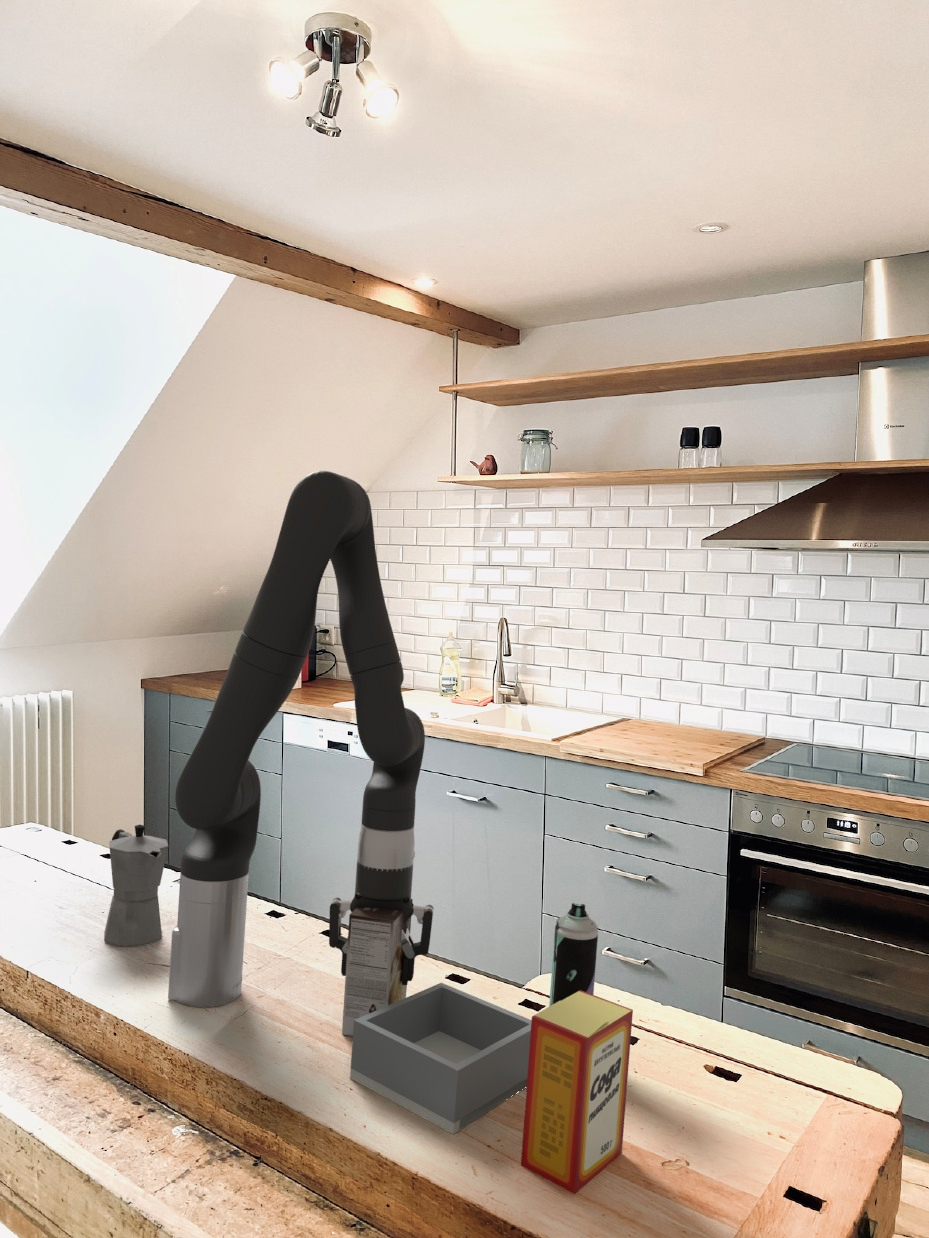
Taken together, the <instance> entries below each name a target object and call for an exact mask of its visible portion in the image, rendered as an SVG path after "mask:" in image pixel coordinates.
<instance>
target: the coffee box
mask: <svg viewBox="0 0 929 1238" xmlns="http://www.w3.org/2000/svg"><path fill="white" fill-rule="evenodd" d="M411 900H412V902H413V899H412V898H411ZM411 924H412V916H411V917H410V919H409V920H408V921H407V922H406V923H405V925H404V924H403V911H401V910H390V909H381V908H364V907H357V908H356V909H355V910H354V911H353V912H350V914H349V918H348V930H347V932H348V933H347V935H348V936H347V937H348V946H347V962H346V976H344V995H343V997H344V998H343V1011H342V1014H343V1015H342V1026H341V1027H342V1028H341V1029H342V1030H341V1034H342V1035H345V1036H350V1037H353V1027H354V1020H355V1019H358V1018H360V1017H362V1016H365V1015H367V1014H369V1013H372V1012H374V1011H376V1010H379V1009H381V1008H383V1007H386V1006H388V1005H390V1004H393V1003H395V1002H397V1001H400V1000H402V999H404V998H407V986H408V984H407V985H402V976H403V961H404V955H405V953H404V951H403V949H402V947H401V946H402V945H401V931H402V930H403V931H404V933H405V931H406V929H407V928H408V930H409V932H410V933H411V929H412V928H411V927H412V926H411Z"/></svg>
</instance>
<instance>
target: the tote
mask: <svg viewBox="0 0 929 1238" xmlns="http://www.w3.org/2000/svg"><path fill="white" fill-rule="evenodd" d="M531 1021H532V1019H530V1018H527V1017H524V1016H523V1015H520V1014H517V1013H515V1012H513V1011H510V1010H508V1009H506V1008H503V1007H500V1006H498V1005H496V1004H493V1003H492V1002H489V1001H487V1000H484V999H482V998H479V997H477V996H475V995H473V994H471V993H470V994H469V993H467V992H465V991H462V990H460V989H457V988H455V987H453V986H450V985H448V984H445V983H443V982H438V983H437V984H435V985H433V986H430V987H428V988H425V989H423V990H421V991H419V992H416V993H414V994H412V995H409V996H406V998H404V999H402V1000H400V1001H397V1002H395V1003H393V1004H390V1005H388V1006H386V1007H383V1008H381V1009H379V1010H376V1011H374V1012H372V1013H369V1014H367V1015H365V1016H362V1017H360V1018H358V1019H355V1020H354V1027H353V1036H352V1042H351V1044H352V1046H351V1056H350V1057H351V1058H350V1073H349V1074H350V1075H349V1079H351V1080H353V1081H355V1082H356V1083H358V1084H360V1085H362V1086H364V1087H365V1088H367V1089H369V1090H371V1091H373V1092H375V1093H376V1094H378V1095H380V1096H382V1097H384V1098H386V1099H388V1100H389V1101H391V1102H392V1103H395V1104H397V1105H399V1106H401V1107H402V1108H405V1109H406V1110H408V1111H409V1112H412V1113H414V1114H415V1115H417V1116H419V1117H420V1118H422V1119H425V1120H426V1121H429V1122H430V1123H431V1124H434V1125H436V1126H437V1127H439V1128H441V1129H442V1130H445V1131H447V1132H448V1133H449V1134H452V1135H455V1134H456V1133H457V1132H459V1131H460V1130H462V1129H464V1128H465V1127H467V1126H468V1125H470V1124H472V1123H473V1122H475V1121H477V1120H479V1118H481V1117H483V1116H484V1115H486V1114H487V1112H488V1113H490V1111H492V1110H494V1109H495V1108H497V1107H498V1106H497V1105H499V1106H500V1105H502V1104H503V1103H505V1102H506V1101H507V1100H506V1099H508V1098H510V1097H511V1096H512V1095H514V1096H516V1095H517V1094H516V1093H517V1092H518V1091H521V1090H522V1089H524V1088H525V1087H527V1075H528V1062H529V1048H530V1035H531ZM525 1089H526V1088H525ZM525 1089H524V1090H525ZM522 1091H523V1090H522ZM522 1091H521V1092H522ZM515 1094H516V1095H515ZM511 1098H512V1097H511ZM511 1098H510V1099H511ZM508 1100H509V1099H508ZM504 1101H505V1102H504ZM502 1102H503V1103H502ZM501 1103H502V1104H501ZM491 1109H492V1110H491Z"/></svg>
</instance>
